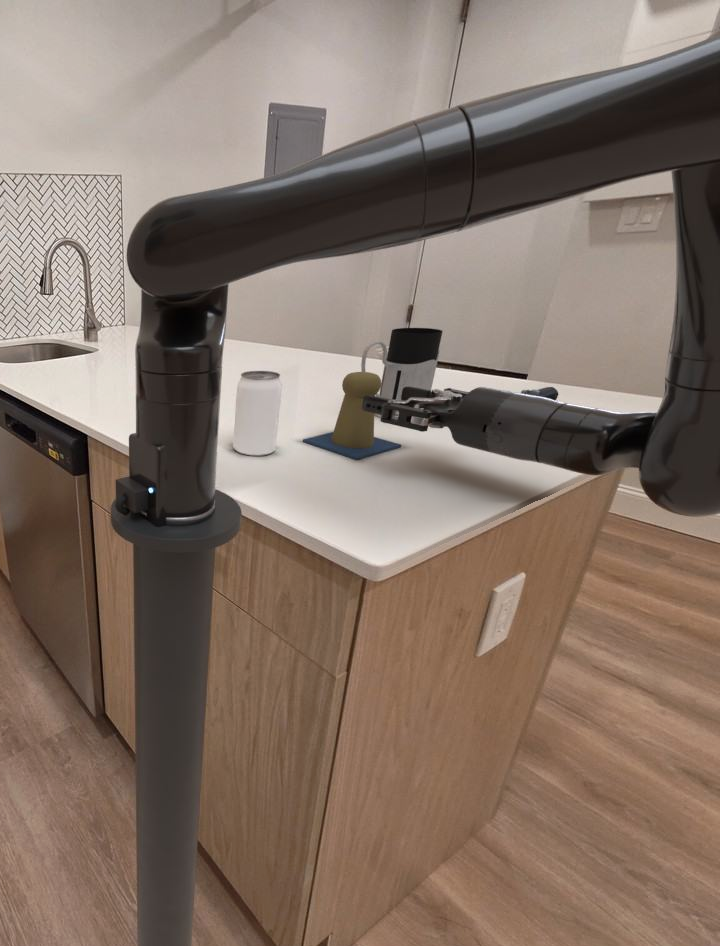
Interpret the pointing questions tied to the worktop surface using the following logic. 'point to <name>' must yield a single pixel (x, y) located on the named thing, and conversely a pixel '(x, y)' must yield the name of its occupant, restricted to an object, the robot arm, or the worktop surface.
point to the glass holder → (407, 361)
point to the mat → (354, 453)
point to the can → (257, 413)
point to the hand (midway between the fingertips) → (384, 397)
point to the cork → (356, 411)
